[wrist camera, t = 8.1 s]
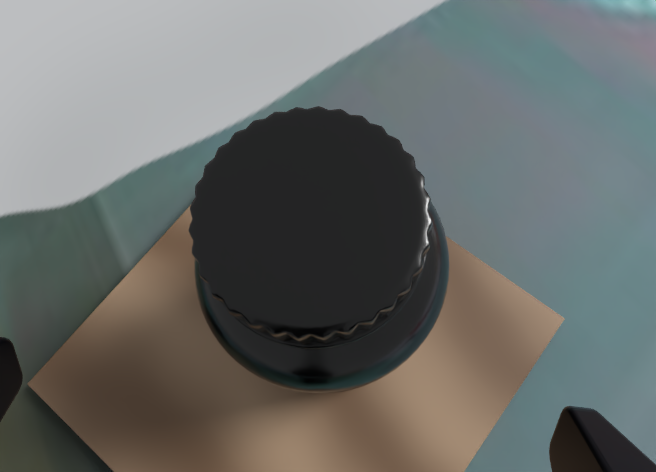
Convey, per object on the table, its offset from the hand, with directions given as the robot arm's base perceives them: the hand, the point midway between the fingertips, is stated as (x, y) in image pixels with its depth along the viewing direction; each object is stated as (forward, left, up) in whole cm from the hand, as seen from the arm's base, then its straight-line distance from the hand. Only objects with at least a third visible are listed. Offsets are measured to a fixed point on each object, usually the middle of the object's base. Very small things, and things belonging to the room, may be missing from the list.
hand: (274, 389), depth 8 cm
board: (0, +2, -13) cm, 14 cm away
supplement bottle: (+3, +2, -13) cm, 13 cm away
